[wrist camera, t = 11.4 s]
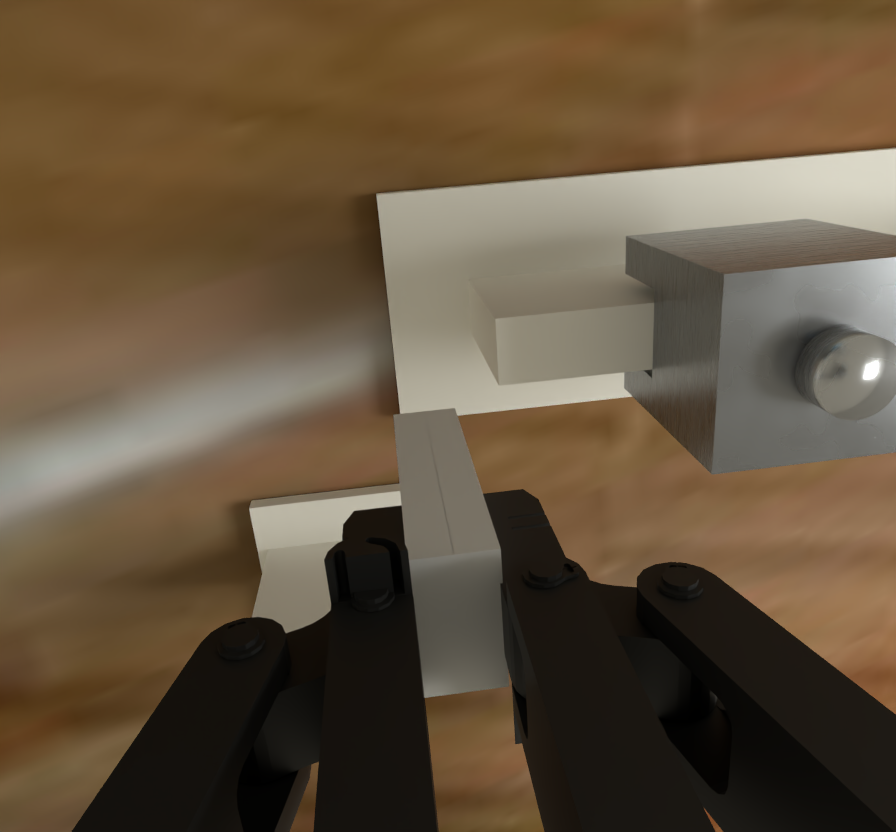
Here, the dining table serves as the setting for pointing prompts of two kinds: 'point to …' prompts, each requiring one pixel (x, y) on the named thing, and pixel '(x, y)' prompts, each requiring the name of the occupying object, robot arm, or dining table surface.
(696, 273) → the grey cube with knob
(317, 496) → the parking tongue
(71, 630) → the dining table surface
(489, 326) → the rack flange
